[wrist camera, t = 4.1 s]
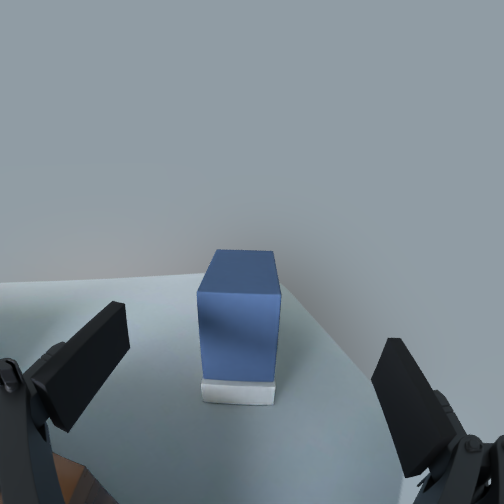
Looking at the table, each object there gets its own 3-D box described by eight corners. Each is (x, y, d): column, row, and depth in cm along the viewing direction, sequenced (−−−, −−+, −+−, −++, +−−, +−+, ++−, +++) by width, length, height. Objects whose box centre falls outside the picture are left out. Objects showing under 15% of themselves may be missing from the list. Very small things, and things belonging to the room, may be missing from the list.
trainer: (267, 315, 32) (271, 238, 29) (273, 405, 18) (284, 298, 16) (222, 313, 32) (221, 236, 29) (202, 402, 18) (192, 295, 16)
